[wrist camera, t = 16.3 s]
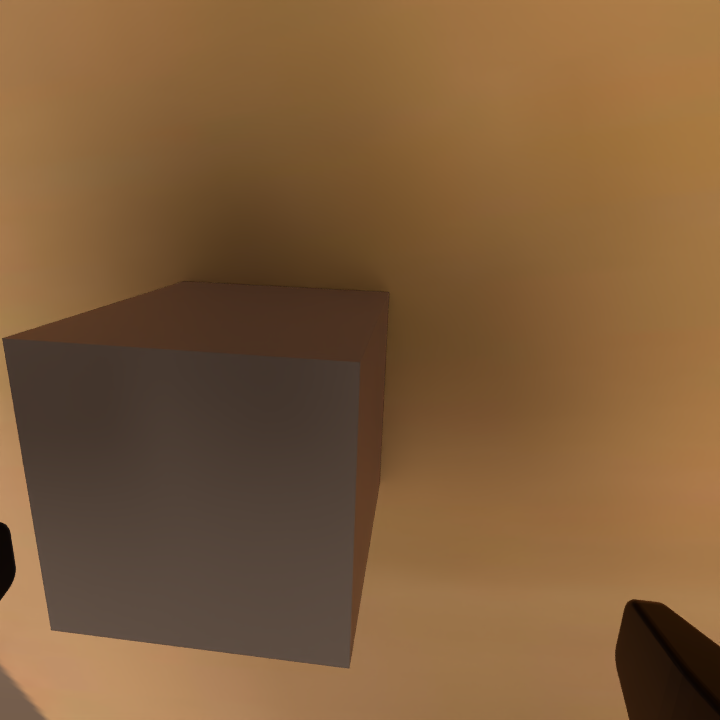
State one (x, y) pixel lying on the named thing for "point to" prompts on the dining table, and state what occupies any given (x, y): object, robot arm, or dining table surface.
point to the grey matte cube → (207, 465)
